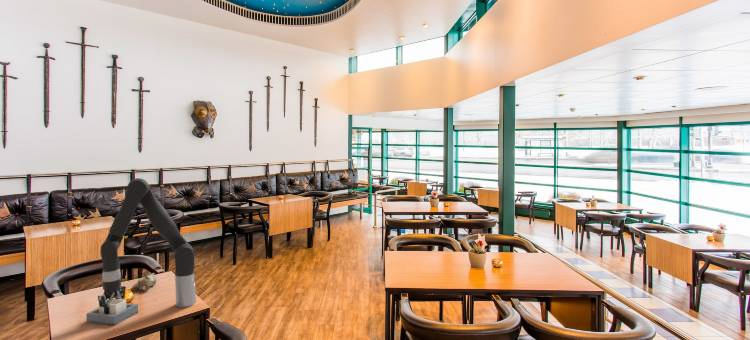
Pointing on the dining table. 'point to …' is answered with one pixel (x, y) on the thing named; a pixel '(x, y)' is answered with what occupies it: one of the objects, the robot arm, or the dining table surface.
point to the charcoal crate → (112, 319)
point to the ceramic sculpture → (145, 282)
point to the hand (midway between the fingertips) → (113, 310)
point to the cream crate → (114, 306)
